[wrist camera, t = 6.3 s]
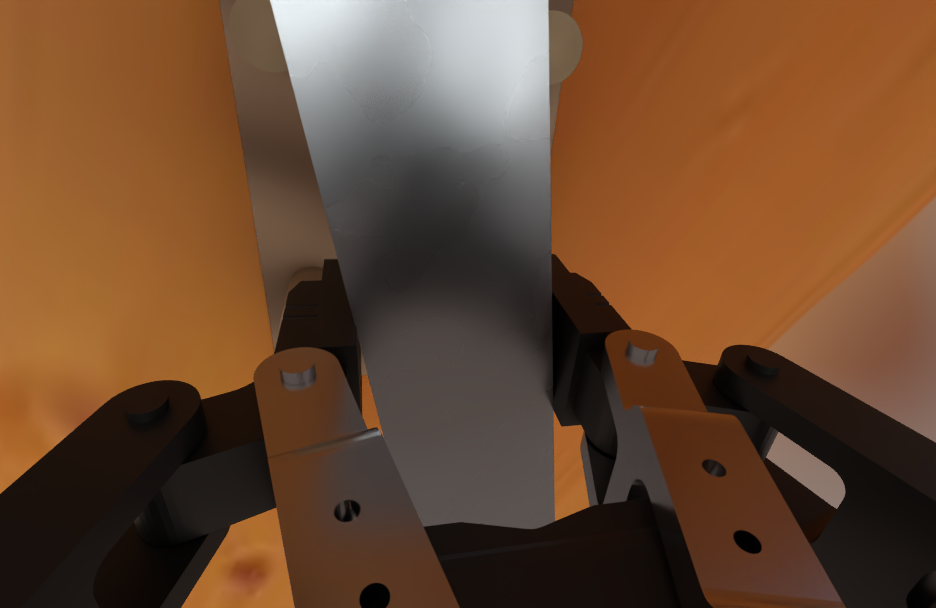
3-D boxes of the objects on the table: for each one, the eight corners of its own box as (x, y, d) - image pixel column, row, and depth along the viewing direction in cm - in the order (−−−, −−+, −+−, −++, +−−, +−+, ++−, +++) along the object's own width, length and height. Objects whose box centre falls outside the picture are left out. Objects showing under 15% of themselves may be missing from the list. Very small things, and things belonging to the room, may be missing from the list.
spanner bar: (272, -120, 9) (217, -201, 5) (473, -138, 9) (546, -223, 6) (415, 493, 17) (430, 615, 14) (516, 470, 17) (555, 583, 14)
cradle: (201, -172, 15) (138, -240, 11) (578, -122, 17) (652, -163, 13) (282, 365, 25) (266, 441, 21) (514, 351, 28) (544, 418, 23)
